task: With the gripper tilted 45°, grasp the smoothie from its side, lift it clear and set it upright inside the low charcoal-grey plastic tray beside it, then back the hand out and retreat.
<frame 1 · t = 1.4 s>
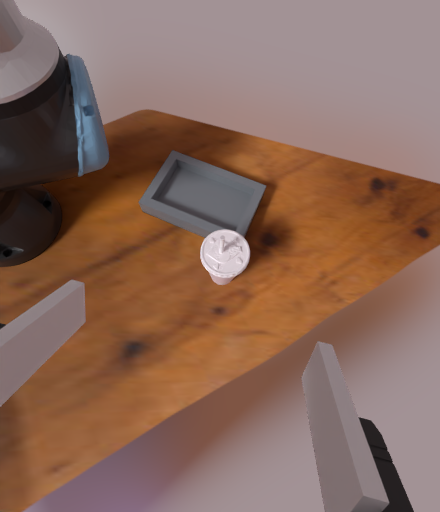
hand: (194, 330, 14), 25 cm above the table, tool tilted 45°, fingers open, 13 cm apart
tray: (204, 203, 46), on the table
smoothie: (222, 274, 42), on the table
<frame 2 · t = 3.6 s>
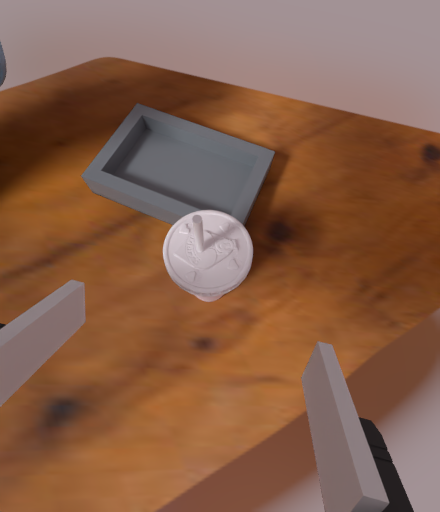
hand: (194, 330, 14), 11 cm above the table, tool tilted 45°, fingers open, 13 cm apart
tray: (184, 180, 31), on the table
smoothie: (209, 284, 27), on the table
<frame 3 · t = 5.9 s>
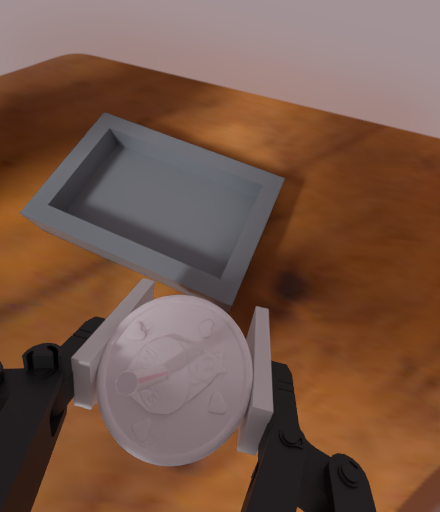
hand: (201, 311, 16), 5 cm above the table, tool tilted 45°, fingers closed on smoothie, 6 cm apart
tray: (164, 213, 24), on the table
smoothie: (194, 365, 20), on the table, touching gripper
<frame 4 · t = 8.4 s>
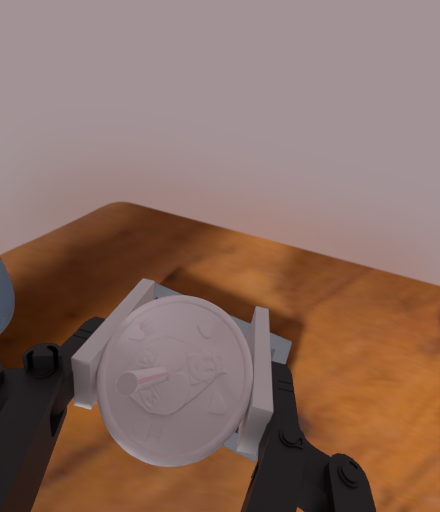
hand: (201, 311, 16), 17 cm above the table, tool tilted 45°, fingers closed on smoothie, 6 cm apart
tray: (198, 360, 31), on the table
smoothie: (194, 365, 20), point 12 cm above the table, touching gripper
when the fingers open (7 cm above the table, at t = 10.7 s): smoothie drops 1 cm, resting on tray.
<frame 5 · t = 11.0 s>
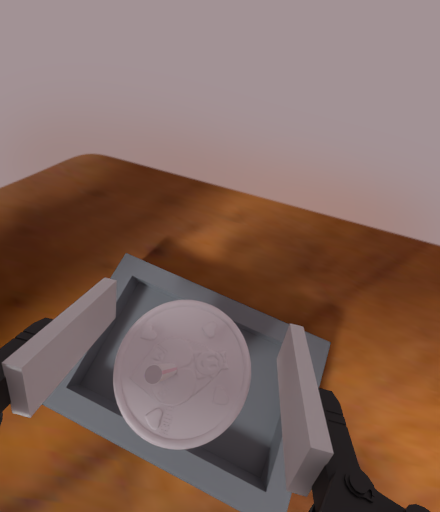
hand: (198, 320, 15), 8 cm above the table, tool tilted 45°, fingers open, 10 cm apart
tray: (193, 368, 22), on the table
smoothie: (192, 364, 21), point 1 cm above the table, touching tray
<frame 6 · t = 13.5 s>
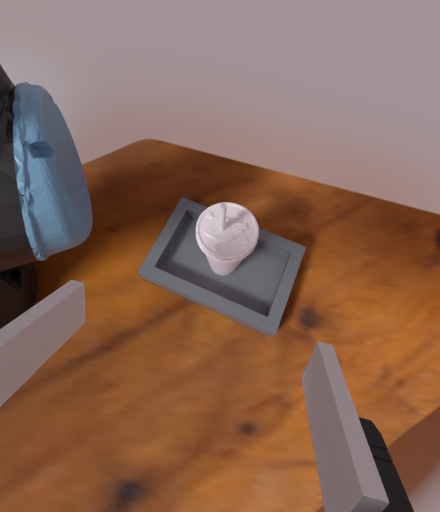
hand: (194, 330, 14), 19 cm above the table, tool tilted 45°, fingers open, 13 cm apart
tray: (223, 266, 35), on the table
smoothie: (223, 262, 35), point 1 cm above the table, touching tray
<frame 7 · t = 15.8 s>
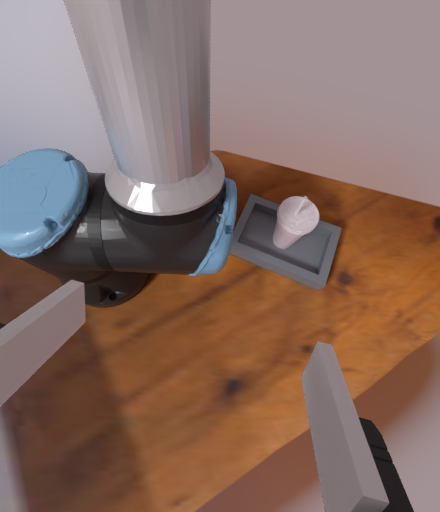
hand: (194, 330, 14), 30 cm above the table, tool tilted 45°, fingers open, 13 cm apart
tray: (281, 243, 49), on the table
smoothie: (282, 240, 48), point 1 cm above the table, touching tray
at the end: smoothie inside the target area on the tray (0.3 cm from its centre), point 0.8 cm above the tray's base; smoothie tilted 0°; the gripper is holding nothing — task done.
